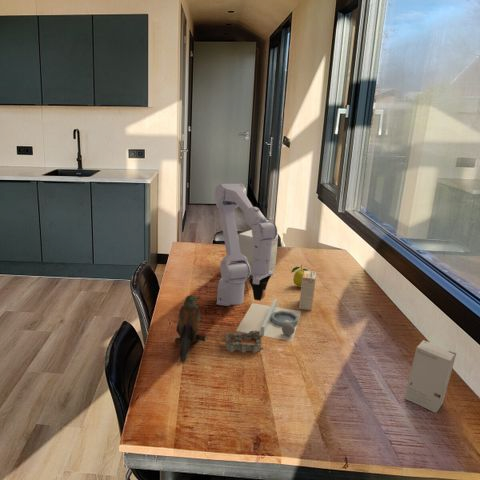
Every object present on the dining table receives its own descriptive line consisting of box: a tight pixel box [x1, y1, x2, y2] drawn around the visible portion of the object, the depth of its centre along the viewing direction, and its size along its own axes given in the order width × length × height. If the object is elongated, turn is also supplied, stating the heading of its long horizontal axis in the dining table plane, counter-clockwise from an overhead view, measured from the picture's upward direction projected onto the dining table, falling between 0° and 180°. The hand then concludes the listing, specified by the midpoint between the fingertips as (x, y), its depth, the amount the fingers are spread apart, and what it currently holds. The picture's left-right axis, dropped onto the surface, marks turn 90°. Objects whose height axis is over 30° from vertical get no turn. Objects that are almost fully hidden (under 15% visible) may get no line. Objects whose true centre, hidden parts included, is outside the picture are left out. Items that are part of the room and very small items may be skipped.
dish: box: [271, 311, 300, 327], centre depth 145 cm, size 9×9×2 cm
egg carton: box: [225, 331, 262, 354], centre depth 128 cm, size 11×8×4 cm
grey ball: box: [282, 323, 296, 336], centre depth 135 cm, size 4×4×4 cm
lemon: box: [290, 264, 309, 288], centre depth 177 cm, size 7×6×10 cm
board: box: [235, 302, 302, 342], centre depth 145 cm, size 18×23×1 cm
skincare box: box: [403, 340, 457, 414], centre depth 106 cm, size 8×6×15 cm
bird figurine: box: [174, 294, 208, 364], centre depth 126 cm, size 13×10×20 cm
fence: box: [260, 298, 278, 337], centre depth 144 cm, size 1×23×3 cm, turn 165°
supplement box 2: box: [298, 270, 317, 311], centre depth 158 cm, size 8×5×13 cm, turn 168°
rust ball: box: [261, 290, 266, 300], centre depth 142 cm, size 4×4×4 cm
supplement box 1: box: [236, 229, 279, 277], centre depth 192 cm, size 13×13×18 cm
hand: (259, 297), depth 143 cm, fingers closed on rust ball, 4 cm apart
